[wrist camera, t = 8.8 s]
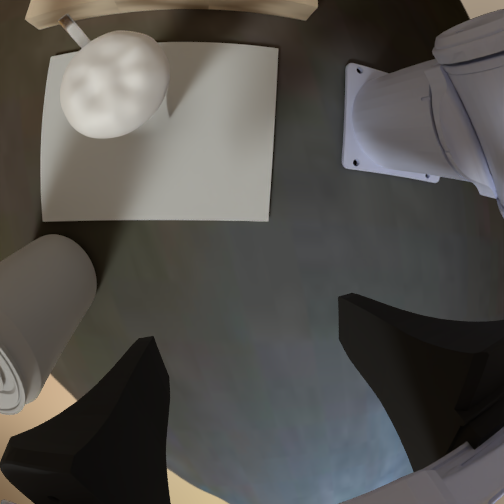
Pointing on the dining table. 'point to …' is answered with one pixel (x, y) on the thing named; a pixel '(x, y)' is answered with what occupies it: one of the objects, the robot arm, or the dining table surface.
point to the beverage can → (39, 313)
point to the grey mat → (171, 145)
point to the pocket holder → (159, 8)
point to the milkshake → (115, 84)
